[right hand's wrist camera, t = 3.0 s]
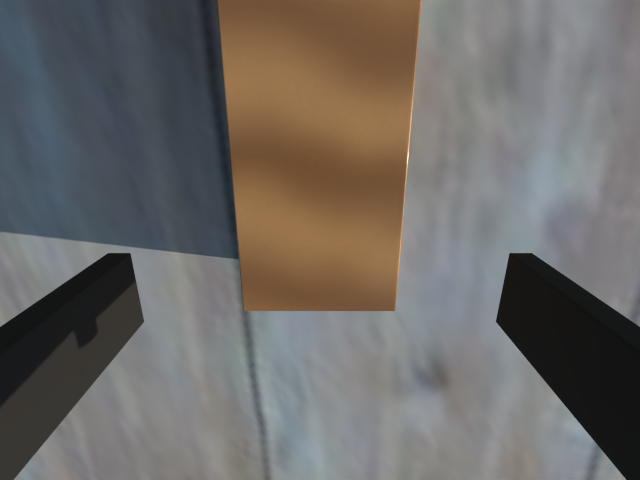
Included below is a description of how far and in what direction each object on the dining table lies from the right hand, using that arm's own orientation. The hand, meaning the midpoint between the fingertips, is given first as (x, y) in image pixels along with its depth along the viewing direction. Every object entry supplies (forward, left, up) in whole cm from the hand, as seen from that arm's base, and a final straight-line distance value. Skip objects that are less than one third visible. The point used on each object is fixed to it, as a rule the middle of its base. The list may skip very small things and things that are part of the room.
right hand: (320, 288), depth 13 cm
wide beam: (+15, +26, -15) cm, 34 cm away
